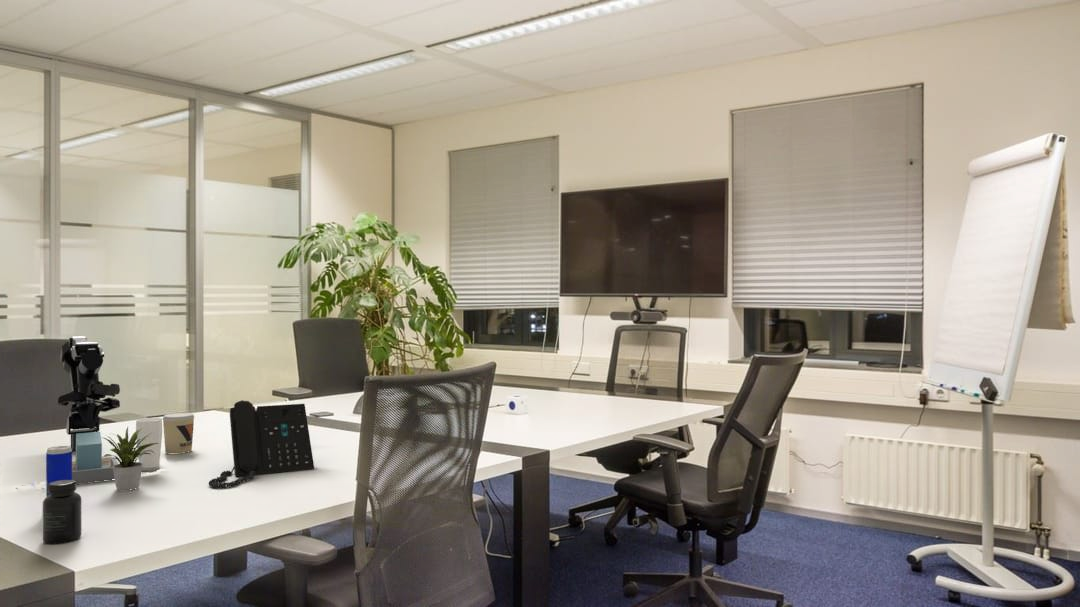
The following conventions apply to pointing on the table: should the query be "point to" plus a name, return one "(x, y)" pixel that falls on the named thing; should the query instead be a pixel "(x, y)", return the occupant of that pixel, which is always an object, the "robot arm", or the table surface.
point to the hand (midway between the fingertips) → (91, 428)
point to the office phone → (267, 441)
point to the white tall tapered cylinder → (146, 428)
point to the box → (94, 474)
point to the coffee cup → (178, 432)
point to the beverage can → (58, 464)
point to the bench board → (103, 462)
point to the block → (88, 451)
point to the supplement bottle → (62, 513)
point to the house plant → (128, 461)
